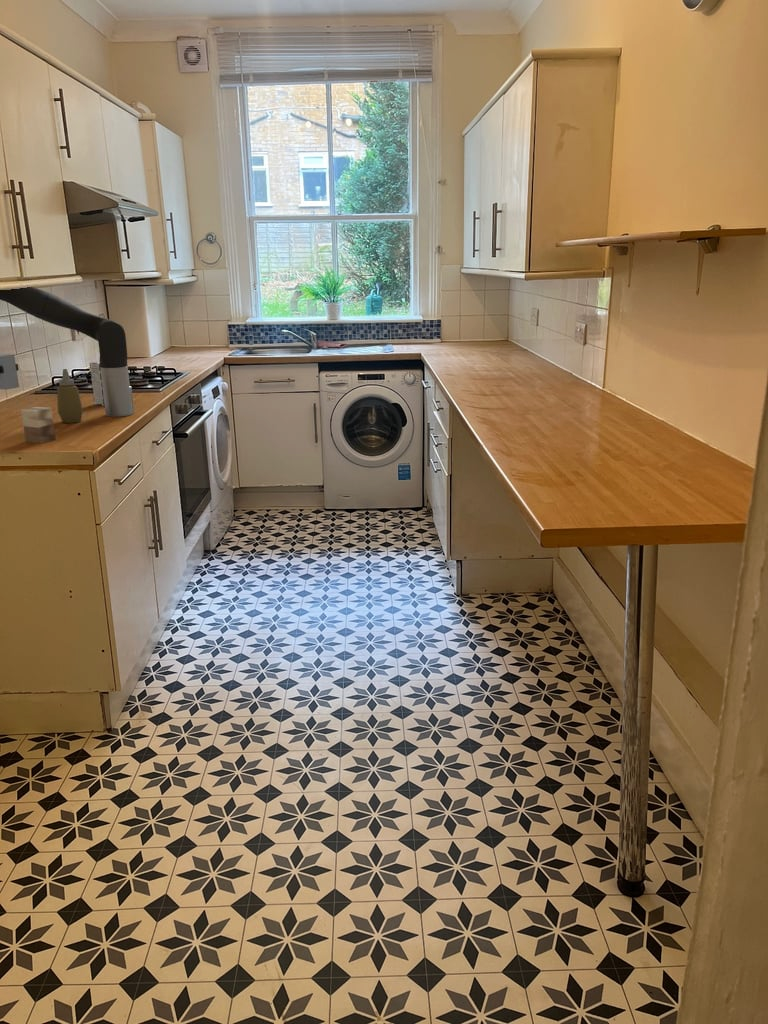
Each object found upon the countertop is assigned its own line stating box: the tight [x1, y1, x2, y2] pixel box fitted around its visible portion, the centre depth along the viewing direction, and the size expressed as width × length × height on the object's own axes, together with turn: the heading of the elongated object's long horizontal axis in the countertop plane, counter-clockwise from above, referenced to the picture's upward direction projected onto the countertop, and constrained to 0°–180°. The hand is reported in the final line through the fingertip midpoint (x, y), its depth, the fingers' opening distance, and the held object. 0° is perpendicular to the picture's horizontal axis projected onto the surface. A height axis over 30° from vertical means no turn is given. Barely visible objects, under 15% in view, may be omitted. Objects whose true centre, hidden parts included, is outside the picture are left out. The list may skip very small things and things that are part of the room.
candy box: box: [89, 360, 131, 407], centre depth 300 cm, size 14×6×16 cm, turn 149°
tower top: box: [20, 406, 54, 428], centre depth 236 cm, size 6×6×5 cm
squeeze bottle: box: [56, 368, 84, 424], centre depth 264 cm, size 8×8×18 cm
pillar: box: [0, 353, 20, 391], centre depth 236 cm, size 5×5×10 cm
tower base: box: [23, 423, 57, 444], centre depth 237 cm, size 6×6×5 cm
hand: (10, 368), depth 234 cm, fingers closed on pillar, 5 cm apart
